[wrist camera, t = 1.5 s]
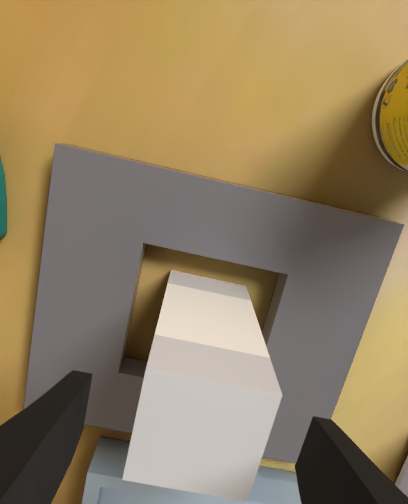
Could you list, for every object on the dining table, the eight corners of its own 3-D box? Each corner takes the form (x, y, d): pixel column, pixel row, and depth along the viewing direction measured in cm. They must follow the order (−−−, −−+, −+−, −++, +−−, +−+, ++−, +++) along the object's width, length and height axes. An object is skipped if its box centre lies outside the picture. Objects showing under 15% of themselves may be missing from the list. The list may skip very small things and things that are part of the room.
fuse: (246, 285, 19) (282, 395, 11) (227, 352, 20) (247, 501, 12) (171, 269, 19) (146, 368, 10) (156, 338, 20) (122, 479, 11)
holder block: (388, 218, 18) (404, 224, 17) (305, 445, 22) (312, 466, 21) (67, 144, 17) (55, 143, 16) (35, 395, 21) (22, 413, 20)
